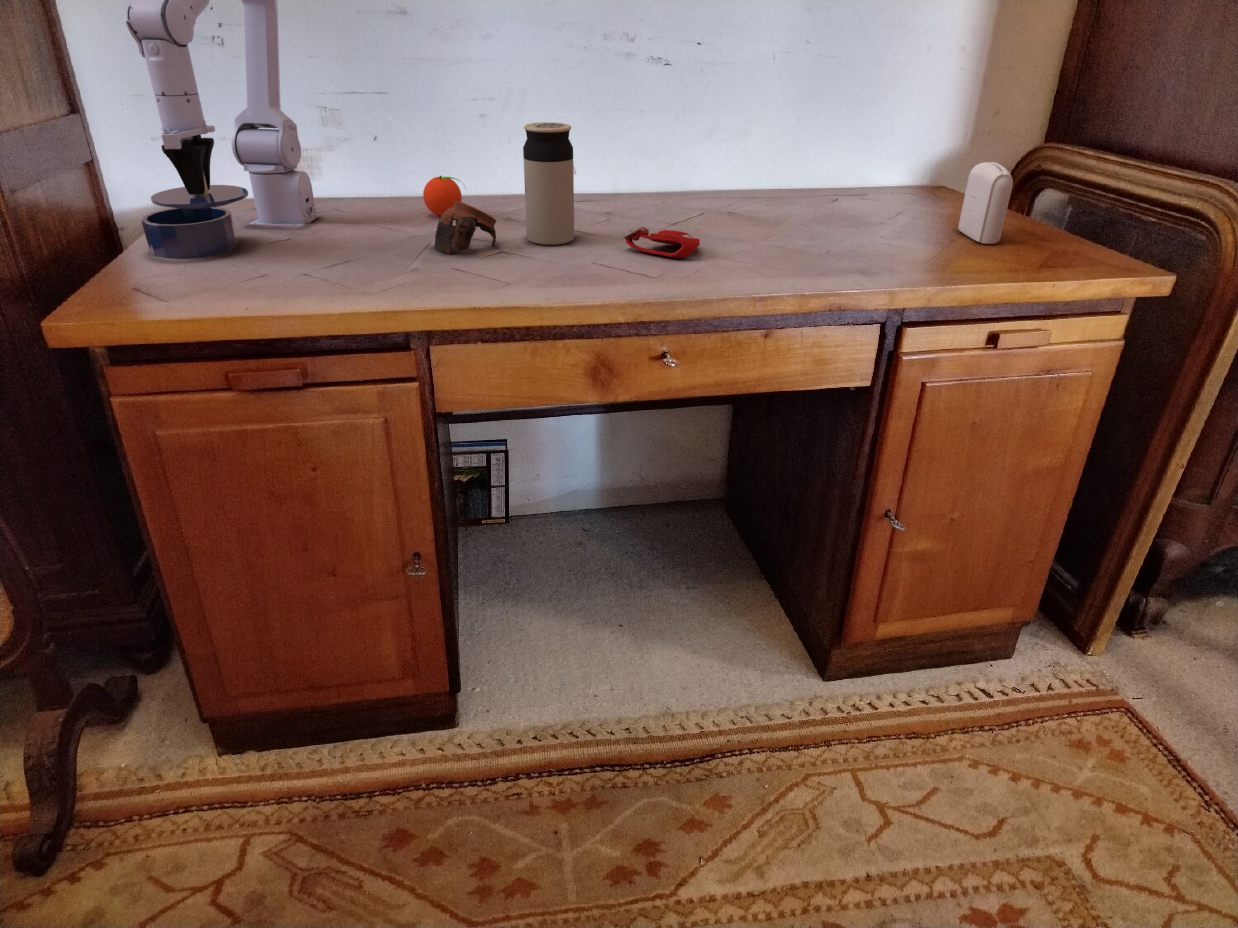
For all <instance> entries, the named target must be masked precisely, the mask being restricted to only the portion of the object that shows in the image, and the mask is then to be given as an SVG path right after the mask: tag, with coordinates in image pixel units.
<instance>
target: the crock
mask: <svg viewBox="0 0 1238 928" xmlns="http://www.w3.org/2000/svg"><path fill="white" fill-rule="evenodd" d="M141 224H142V228H143V231H144V236H145V239H146V242H147V246H148V250H149V253H150V254H151V255H153V256H154V257H158V258H163V259H179V260H180V259H181V260H184V259H186V260H187V259H196V258H197V259H199V258H204V257H205V258H206V257H210V256H216V255H220V254H223V253H227V252H230V251H231V250H233V249H235V248H237V246H238V239H237V235H236V231H235V225H234V220H233V215H232V211H231V210H228V209H227V208H224V207H220V206H218V207H212V208H202V209H178V208H166V209H161V210H158V211H154V212H151V213H148V214H146V215H143V217H142V218H141Z"/></svg>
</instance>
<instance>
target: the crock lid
mask: <svg viewBox="0 0 1238 928" xmlns="http://www.w3.org/2000/svg"><path fill="white" fill-rule="evenodd" d="M203 173H204V170H203ZM204 183H205V193H204V194H200V195H189V193H188V192H187V190H186V188H185V186H181V187H175V188H170V189H166V190H163V191H158V192H155V193H154V194H152V195H151V197H150V201H151V203H152V204H153V205H155V206H159V207H163V208H164V207H165V208H171V209H173V208H178V209H202V208H212V207H223V206H227V205H231V204H233V203H236V202H239V201H242V200H244V199H246V198H247V197H248V196H249V191H248V189H247V188H245V187H242V186H239V185H238V186H237V185H230V184H210V189H209V190H208V188H207V183H206V179H205V175H204Z"/></svg>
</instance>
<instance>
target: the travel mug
mask: <svg viewBox="0 0 1238 928" xmlns="http://www.w3.org/2000/svg"><path fill="white" fill-rule="evenodd" d="M523 129H524V130H525V134H526V140H525V142H524V144H523V147H522V155H523V156H522V157H523V177H524V180H523V181H524V202H525V203H524V204H525V225H526V228H525V229H526V239H527V241H529V242H531V243H533V244H536V245H541V246H560V245H565V244H568V243H570V242H572V241H573V240H575V187H574V185H575V184H574V183H575V182H574V178H575V177H574V147H573V144H572V143H571V140H570V139H569V138H570V131H571V129H572V126H571V124H568V123H563V122H553V121H552V122H550V121H546V122H545V121H544V122H530V123H526V124H525V125H523Z"/></svg>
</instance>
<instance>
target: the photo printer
mask: <svg viewBox="0 0 1238 928" xmlns="http://www.w3.org/2000/svg"><path fill="white" fill-rule="evenodd" d="M1013 184H1014V180H1013V177H1012V175H1011V173H1010V172H1009V170H1008V169H1007V168H1006V167H1004V166H1003V165H1002V164H1000V163H998V162H994V161H990V162H988V161H985V162H980V163H978V164H976V165H975V166H973V168H972V169H971V170H970V172H969V175H968V179H967V183H966V189H965V192H964V197H963V202H962V207H961V211H960V216H959V221H958V227H957V228H958V231H959V232H961V233H962V234H964V235H965V236H967V237H969V238H970V239H972V240H974V241H976V242H978V243H980V244H985V245H995V244H997V243H999V242H1000V240H1001V237H1002V232H1003V228H1004V223H1005V218H1006V214H1007V212H1008V206H1009V202H1010V198H1011V194H1012V189H1013Z"/></svg>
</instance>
